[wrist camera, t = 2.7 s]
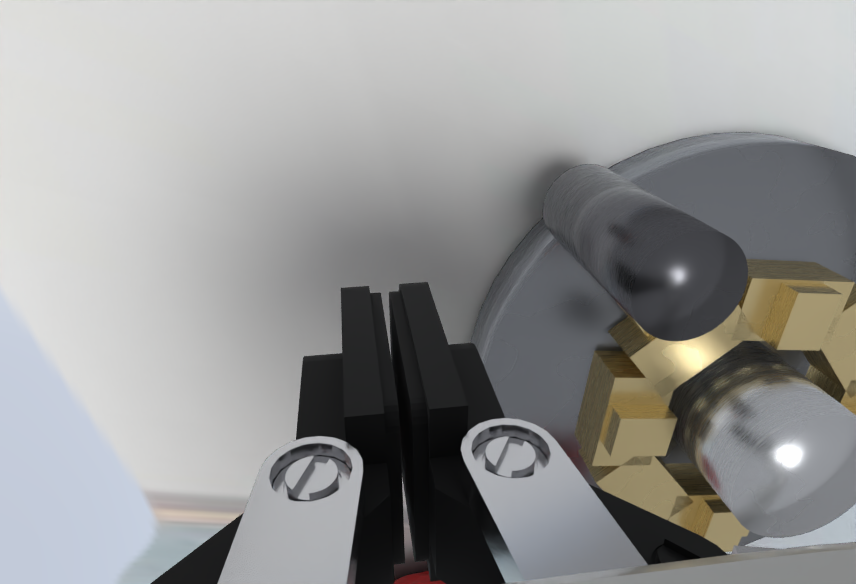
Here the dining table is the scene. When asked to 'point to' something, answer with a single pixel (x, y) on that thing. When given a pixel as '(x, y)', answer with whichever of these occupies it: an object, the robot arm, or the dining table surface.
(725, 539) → the gold segmented ring
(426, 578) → the pomegranate
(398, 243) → the dining table surface
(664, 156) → the dark oval platter
